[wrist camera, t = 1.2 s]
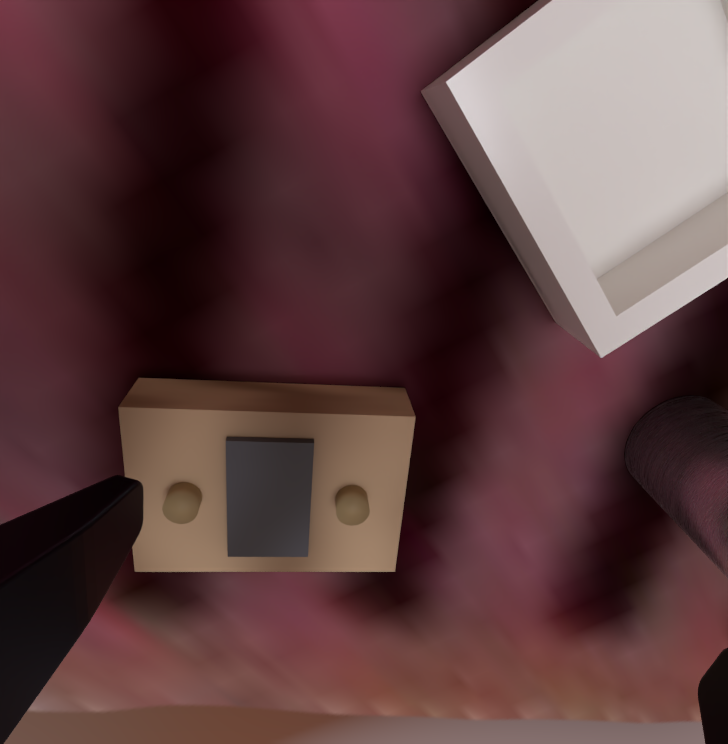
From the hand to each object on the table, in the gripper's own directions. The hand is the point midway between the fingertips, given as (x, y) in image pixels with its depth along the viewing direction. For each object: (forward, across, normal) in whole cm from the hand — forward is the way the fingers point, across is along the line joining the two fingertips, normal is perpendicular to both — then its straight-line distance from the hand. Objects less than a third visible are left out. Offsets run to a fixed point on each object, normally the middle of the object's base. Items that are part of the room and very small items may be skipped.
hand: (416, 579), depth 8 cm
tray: (+15, -4, -6) cm, 17 cm away
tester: (+11, +5, +8) cm, 15 cm away
